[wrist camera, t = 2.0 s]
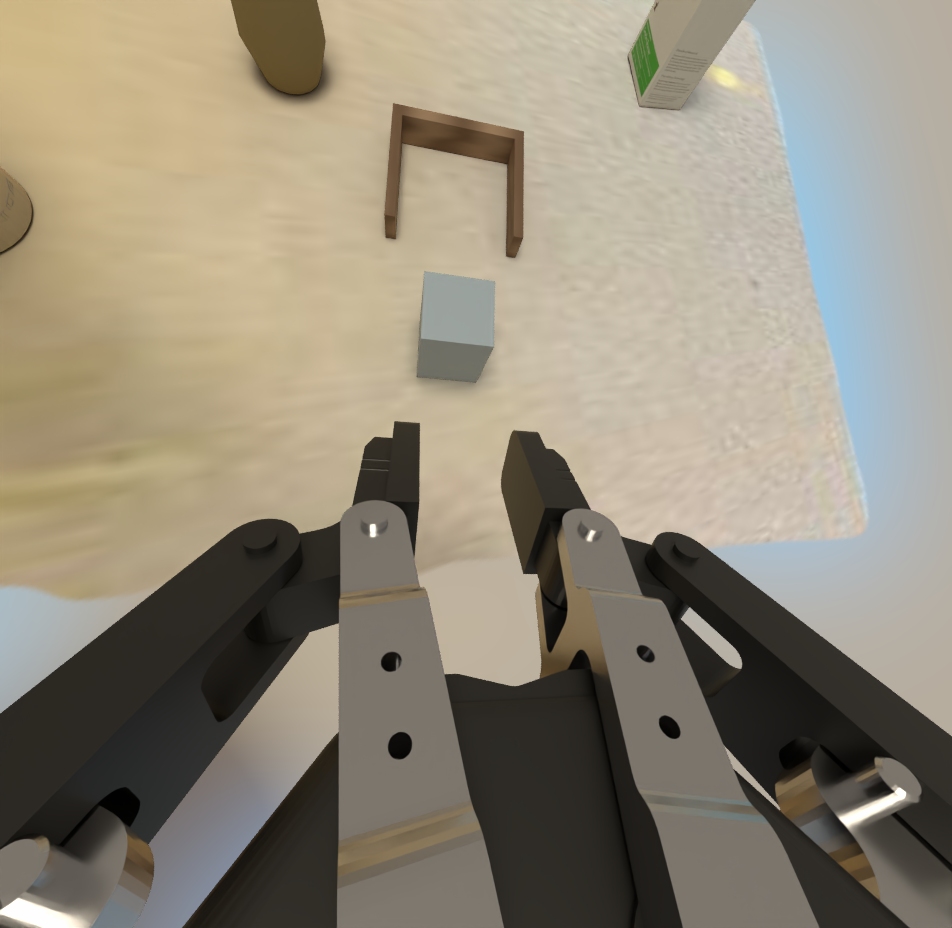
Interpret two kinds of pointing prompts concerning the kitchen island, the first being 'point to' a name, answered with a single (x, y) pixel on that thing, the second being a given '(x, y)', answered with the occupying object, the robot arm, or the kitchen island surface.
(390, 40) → the kitchen island surface
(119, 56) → the kitchen island surface
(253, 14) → the squeeze bottle
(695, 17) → the skincare box
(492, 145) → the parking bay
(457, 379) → the slate block
